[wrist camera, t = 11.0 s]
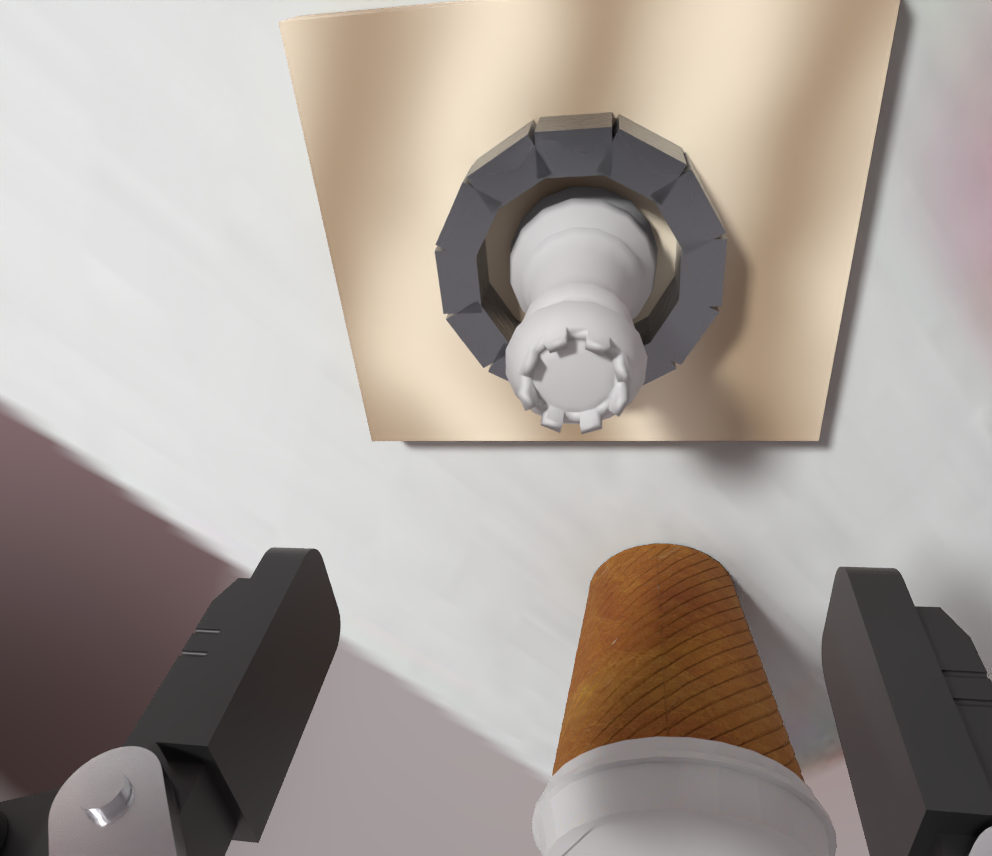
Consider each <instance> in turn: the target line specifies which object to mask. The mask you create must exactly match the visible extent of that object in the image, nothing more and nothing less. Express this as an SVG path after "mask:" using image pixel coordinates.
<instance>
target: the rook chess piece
mask: <svg viewBox="0 0 992 856" xmlns="http://www.w3.org/2000/svg"><path fill="white" fill-rule="evenodd" d="M657 253H658V248H657V245H656V242H655V238H654V235H653V232H652V229H651V225H650V222H649V221H648V220H647V219H646V218H645V217H644V215H643V214H642V213H641V212H640V211H639V210H638V209H637V208H636V206H635V205H634V204H633V203H632V202H631V201H630V200H628V199H626V198H624V197H622V196H620V195H617V194H615V193H613V192H611V191H609V190H606V189H604V188H594V187H570V188H568V189H565V190H562V191H560V192H557V193H555V194H552V195H549V196H547V197H544V198H543V199H542V200H541V201H540V202H539V203H537V204H536V205H535V206H534V207H533V208H532V209H531V210H530V211H529V212H528V213H527V214H526V215H525V216H524V217H523V218H522V220H521V222H520V224H519V226H518V229H517V231H516V233H515V236H514V238H513V240H512V242H511V254H510V283H511V286H512V288H513V290H514V293H515V295H516V297H517V300H518V302H519V304H520V307H521V309H522V311H524V312H525V313H526V315H525V317H524V319H523V321H522V323H521V324H520V325H518V326H517V327H516V329H515V331H514V333H513V336H512V338H511V340H510V342H509V344H508V346H507V348H506V376H507V378H508V380H509V382H510V384H511V387H512V389H513V391H514V393H515V395H516V397H517V398H518V399H520V400H521V403H522V405H523V407H524V409H525V411H527V410H529V409H530V410H531V411H533V412H534V413H535V414H538V415H540V416H542V417H541V424H540V425H542V426H544V427H546V428H549V429H551V430H554V431H556V432H559V433H560V431H561V428H562V425H563V423H565V424H580V428H581V434H585V433H589V432H593V431H597V430H600V429H602V420H604V419H608V418H611V417H612V416H614V415H617V416H618V417H619V416H620V415H621V413H622V412H623V410H624V408H625V407H626V406H628V405H629V404H631V403H632V401H633V399H634V398H635V396H636V395H637V393H638V392H639V390H640V388H641V387H642V385H643V384H644V382H645V374H646V366H647V358H648V357H647V354H646V351H645V348H644V345H643V343H642V340H641V337H640V334H639V332H638V331H637V330H636V329H635V326H634V324H633V321H632V320H633V319H634V318H635V317H636V316H638V314H639V313H640V311H641V309H642V307H643V306H644V304H645V302H646V301H647V299H648V297H649V295H650V294H651V292H652V290H653V289H654V282H655V274H656V266H657Z"/></svg>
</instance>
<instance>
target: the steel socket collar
mask: <svg viewBox="0 0 992 856" xmlns="http://www.w3.org/2000/svg"><path fill="white" fill-rule="evenodd" d="M596 175H605V176H606V177H608V178H610V179H612V180H614V181H616V182H618V183H620V184H622V185H624V186H626V187H627V188H629V189H631V190H633V191H635V192H637V193H639V194H641V195H643V196H645V197H647V198H649V199H650V200H652V201H654V202H655V203H656V205H657V207H658V208H659V210H660V212H661V214H662V215H663V217H664V219H665V221H666V222H667V224H668V226H669V227H670V229H671V231H672V233H673V234H674V236H675V238H676V260H675V276H674V278H673V279H672V281H671V282H670V284H669V285H668V287H667V288H666V290H665V291H664V293H663V294H662V296H661V298H660V299H659V301H658V302H657V304H656V305H655V307H654V308H653V310H652V311H651V313H650V314H649V316H648V317H646V318H644V319H642V320H640V321H638V322H637V323H635V324H634V326H635V329H636V330H637V331H638V332H639V334H640V337H641V340H642V343H643V345H644V348H645V351H646V354H647V357H648V358H647V366H646V374H645V382H644V384H643V385H645V384H647V383H649V382H651V381H653V380H655V379H657V378H659V377H661V376H663V375H665V374H667V373H669V372H671V371H673V370H675V369H676V365H675V363H678V364H680V365H681V364H682V363H683V362H684V360H685V359H686V357H687V356H688V355H689V353H690V352H691V350H692V349H693V348H694V346H695V345H696V344H697V342H698V341H699V339H700V338H701V337H702V335H703V334H704V333H705V331H706V330H707V328H708V327H709V326H710V324H711V323H712V322H713V320H714V319H715V317H716V316H717V315H718V313H719V309H718V306H722V295H723V283H724V272H725V260H726V248H727V237H726V234H725V233H726V231H725V228H724V226H723V223H722V220H721V218H720V215H719V212H718V210H717V208H716V206H715V204H714V203H713V201H712V199H711V197H710V195H709V193H708V192H707V190H706V188H705V186H704V184H703V182H702V180H701V179H700V177H699V175H698V173H697V171H696V169H695V168H694V166H693V164H692V162H691V160H690V158H689V156H688V155H687V153H686V152H685V153H683V151H682V148H681V147H680V146H678V145H676V144H674V143H673V142H671V141H669V140H667V139H665V138H663V137H661V136H660V135H658V134H656V133H654V132H652V131H650V130H648V129H647V128H645V127H643V126H641V125H639V124H637V123H635V122H634V121H632V120H630V119H628V118H626V117H624V116H622V115H621V114H618V116H617V118H616V120H615V121H614V123H613V125H612V112H606V113H592V114H577V115H562V116H548V117H540V118H539V121H538V123H537V124H536V123H535V121H534V120H532V121H530V122H529V123H528V124H526V125H525V126H523V127H522V128H520V129H519V130H518V131H516V132H515V133H513V134H512V135H511V136H509V137H508V138H506V139H505V140H503V141H502V142H501V143H499V144H498V145H496V146H495V147H494V148H492V149H491V150H489V151H488V152H487V153H485V154H484V155H482V156H481V157H479V158H478V159H477V160H476V161H475V163H474V165H472V166H471V168H470V170H469V172H468V173H467V175H466V177H465V179H464V180H463V182H462V184H461V187H460V189H459V191H458V194H457V196H456V198H455V201H454V203H453V205H452V207H451V210H450V212H449V214H448V217H447V219H446V221H445V224H444V226H443V228H442V231H441V233H440V235H439V238H438V240H437V242H436V244H435V245H437V247H436V249H435V258H436V265H437V272H438V279H439V286H440V293H441V300H442V308H443V314H448V315H447V318H446V320H447V322H448V323H449V324H450V326H451V327H452V328H453V329H454V331H455V332H456V333H457V335H458V336H459V337H460V338H461V340H462V341H463V342H464V344H465V345H466V346H467V348H468V349H469V350H470V351H471V353H472V354H473V355H474V357H475V358H476V359H477V360H478V362H479V363H480V364H481V366H482V367H483V368H485V367H487V366H488V365H490V367H489V370H488V372H489V373H492V374H494V375H496V376H498V377H500V378H502V379H504V380H507V381H509V380H508V378H507V376H506V348H507V346H508V344H509V342H510V340H511V338H512V336H513V333H514V331H515V329H516V327H517V326H518V325H520V324H521V323H522V322H520V321H518V320H516V318H515V317H514V315H513V314H512V313H511V311H510V310H509V309H508V307H507V306H506V304H505V303H504V302H503V300H502V299H501V298H500V296H499V295H498V293H497V292H496V291H495V289H494V288H493V286H492V285H491V284H490V282H489V273H488V263H487V253H486V243H485V237H486V235H487V232H488V230H489V228H490V226H491V224H492V222H493V220H494V218H495V216H496V213H497V211H498V209H500V208H501V207H503V206H504V205H506V204H507V203H509V202H510V201H512V200H513V199H515V198H516V197H518V196H519V195H521V194H522V193H524V192H525V191H527V190H528V189H530V188H531V187H533V186H534V185H536V184H537V183H539V182H540V181H542V180H543V179H545V178H559V177H578V176H596ZM643 385H642V386H643Z"/></svg>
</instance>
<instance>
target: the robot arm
mask: <svg viewBox="0 0 992 856" xmlns="http://www.w3.org/2000/svg"><path fill="white" fill-rule="evenodd" d="M339 636H340V614H339V610H338V606H337V603H336V600H335V597H334V594H333V590H332V587H331V584H330V581H329V578H328V574H327V571H326V568H325V565H324V562H323V558H322V556H321V554H320V552H319V551H318V550H317V549H305V548H270V549H269V550H268V551H267V552H266V553H265V554H264V556H263V558H262V559H261V561H260V563H259V564H258V566H257V568H256V570H255V571H254V573H253V575H252V577H251V578H250V579H248V578H238V579H237V580H236V581H235V582H233V583H232V584H231V585H230V586H229V587H228V588H227V589H226V590H224V591H223V592H222V593H221V594H220V595H219V596H218V597H217V598H215V599H214V600H213V601H212V603H211V604H210V606H209V608H208V609H207V611H206V612H205V614H204V616H203V617H202V619H201V620H200V622H199V624H198V626H197V627H196V633H195V634H194V633H193V634H192V635H191V637H190V638H189V640H188V642H187V643H186V645H185V647H184V648H183V650H182V651H183V653H182V656H178V658H177V660H176V661H175V663H174V664H173V666H172V668H171V669H170V671H169V673H168V674H167V676H166V677H165V679H164V681H163V682H162V684H161V686H160V687H159V689H158V690H157V692H156V694H155V695H154V697H153V699H152V700H151V702H150V703H149V705H148V707H147V709H146V710H145V711H144V713H143V715H142V716H141V718H140V720H139V721H138V723H137V725H136V726H135V728H134V729H133V731H132V733H131V734H130V736H129V737H128V739H127V740H126V742H125V743H124V745H123V746H122V747H120V748H116V749H113V750H110V751H107V752H105V753H102V754H100V755H98V756H96V757H95V758H93V759H91V760H90V761H88V762H87V763H85V764H84V765H83V766H81V767H80V768H79V769H78V770H77V771H75V772H74V774H73V775H72V776H71V777H70V778H69V779H68V780H67V781H66V782H65V784H64V785H63V786H62V787H61V788H58V789H54V790H50V791H46V792H41V793H38V794H33V795H29V796H25V797H20V798H16V799H12V800H8V801H3V802H0V856H225V853H226V851H227V849H228V846H229V844H230V842H231V840H239V841H247V842H257V843H258V842H259V840H260V838H261V835H262V832H263V830H264V828H265V825H266V823H267V820H268V818H269V815H270V813H271V810H272V808H273V806H274V803H275V800H276V798H277V795H278V793H279V791H280V788H281V786H282V783H283V781H284V778H285V776H286V773H287V771H288V768H289V766H290V763H291V761H292V758H293V756H294V754H295V751H296V748H297V746H298V743H299V741H300V739H301V736H302V734H303V731H304V729H305V726H306V724H307V721H308V719H309V716H310V714H311V711H312V709H313V706H314V704H315V701H316V699H317V696H318V694H319V692H320V689H321V686H322V684H323V682H324V679H325V677H326V674H327V672H328V669H329V667H330V664H331V662H332V659H333V657H334V654H335V652H336V649H337V646H338V642H339ZM822 666H823V673H824V678H825V683H826V687H827V691H828V694H829V698H830V702H831V706H832V710H833V714H834V718H835V722H836V726H837V730H838V733H839V737H840V741H841V745H842V749H843V753H844V757H845V761H846V765H847V768H848V772H849V775H850V780H851V784H852V788H853V792H854V796H855V799H856V804H857V807H858V811H859V815H860V819H861V823H862V827H863V831H864V835H865V839H866V842H867V846H868V850H869V854H870V856H992V682H991V680H990V679H988V678H987V671H986V669H985V667H984V665H983V663H982V661H981V659H980V657H979V655H978V652H977V650H976V648H975V646H974V644H973V642H972V640H971V638H970V637H969V636H968V635H967V634H966V633H965V632H964V631H963V630H962V629H961V628H960V627H959V626H958V625H957V624H956V623H955V622H954V621H953V620H952V619H951V618H950V617H949V616H948V615H947V614H946V613H945V612H944V611H943V610H942V609H941V608H940V607H916V606H914V604H913V601H912V599H911V596H910V594H909V591H908V589H907V587H906V584H905V582H904V579H903V577H902V575H901V574H900V572H899V571H898V570H897V569H895V568H865V567H839V568H838V570H837V572H836V575H835V579H834V584H833V589H832V593H831V598H830V603H829V608H828V612H827V617H826V622H825V627H824V631H823V637H822Z"/></svg>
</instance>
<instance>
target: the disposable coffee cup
mask: <svg viewBox="0 0 992 856" xmlns="http://www.w3.org/2000/svg"><path fill="white" fill-rule="evenodd" d="M736 595H737V593H736V591H735V588H734V585H733V581H732V579H731V577H730V576H729V574H728V572H727V571H726V570H725V569H724V568H723V566H722V565H721V564H720V563H719V562H717V561H716V560H714V559H713V558H711V557H710V556H708V555H707V554H704V553H702V552H700V551H697V550H695V549H693V548H689V547H685V546H681V545H673V544H649V545H643V546H637V547H633V548H630V549H627V550H624V551H622V552H620V553H618V554H616V555H614V556H612V557H611V558H610V559H608V560H607V561H606V562H605V563H604V564H602V565H601V566H600V567H599V569H598V570H597V571H596V572H595V574H594V576H593V578H592V580H591V583H590V588H589V595H588V599H587V604H586V610H585V615H584V619H583V625H582V629H581V635H580V639H579V644H578V649H577V653H576V658H575V664H574V669H573V675H572V679H571V685H570V689H569V693H568V699H567V703H566V708H565V714H564V719H563V723H562V729H561V733H560V738H559V744H558V748H557V753H556V759H555V763H554V768H553V774H552V777H551V778H550V780H549V782H548V784H547V786H546V788H545V790H544V792H543V794H542V796H541V797H540V799H539V800H538V802H537V803H536V806H535V810H534V815H533V819H532V832H533V836H534V839H535V843H536V845H537V847H538V848H539V850H540V851H541V853H542V856H835V852H836V847H837V845H836V834H835V830H834V828H833V825H832V822H831V820H830V817H829V815H828V814H827V813H826V811H825V810H824V809H823V807H822V806H821V805H820V803H819V802H818V800H817V799H816V798H815V796H814V794H813V793H812V790H811V789H810V788H809V787H808V786H807V785H806V784H805V782H804V779H803V776H802V775H801V770H800V767H799V765H798V762H797V760H796V758H795V757H794V756H795V753H794V751H793V748H792V746H791V743H790V741H789V740H788V739H789V737H788V734H787V732H786V729H785V727H784V725H782V724H783V720H782V718H781V715H780V713H779V710H777V707H778V706H777V704H776V701H775V699H774V696H773V695H772V690H771V687H770V685H769V682H768V681H767V680H768V679H767V676H766V673H765V671H764V668H763V667H762V666H763V665H762V662H761V660H760V657H759V655H758V654H757V652H758V651H757V648H756V646H755V644H754V642H752V641H753V638H752V635H751V633H750V630H748V629H749V626H748V624H747V621H746V619H745V618H744V617H745V615H744V613H743V610H742V608H741V607H740V606H741V604H740V602H739V599H738V596H736Z"/></svg>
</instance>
